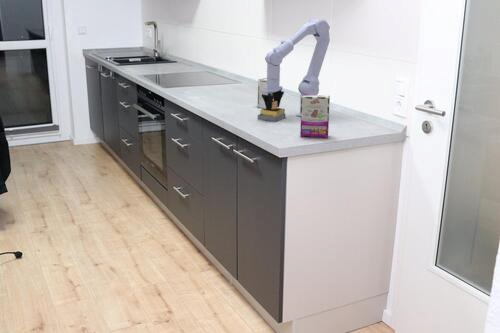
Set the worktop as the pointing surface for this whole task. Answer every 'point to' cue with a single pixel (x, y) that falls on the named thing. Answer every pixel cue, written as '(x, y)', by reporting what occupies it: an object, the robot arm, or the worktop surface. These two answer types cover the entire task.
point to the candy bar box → (314, 116)
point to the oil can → (274, 106)
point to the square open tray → (272, 115)
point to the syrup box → (261, 92)
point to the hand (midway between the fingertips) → (272, 108)
